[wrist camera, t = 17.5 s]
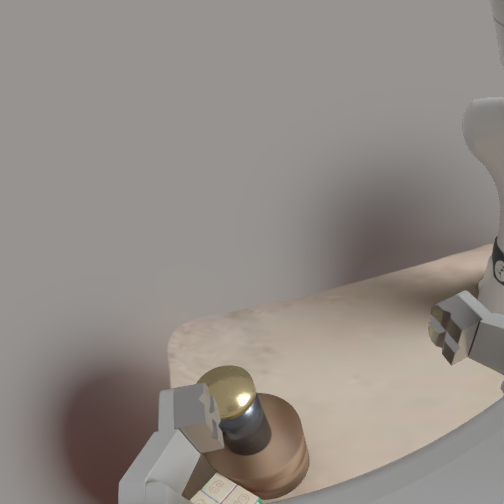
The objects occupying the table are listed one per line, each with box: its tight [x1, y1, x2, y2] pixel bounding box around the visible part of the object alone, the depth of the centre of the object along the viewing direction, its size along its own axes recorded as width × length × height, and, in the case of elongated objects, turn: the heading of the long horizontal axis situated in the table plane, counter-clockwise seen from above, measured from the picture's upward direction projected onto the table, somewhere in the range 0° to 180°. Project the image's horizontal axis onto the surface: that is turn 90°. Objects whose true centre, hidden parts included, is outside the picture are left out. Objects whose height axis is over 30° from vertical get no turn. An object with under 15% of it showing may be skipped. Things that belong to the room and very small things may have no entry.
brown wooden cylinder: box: [203, 393, 309, 500], centre depth 35 cm, size 12×12×10 cm
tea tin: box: [197, 366, 272, 456], centre depth 30 cm, size 6×6×10 cm
